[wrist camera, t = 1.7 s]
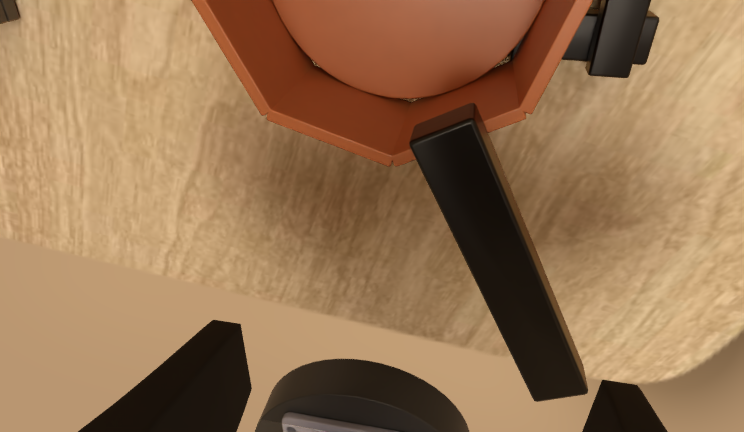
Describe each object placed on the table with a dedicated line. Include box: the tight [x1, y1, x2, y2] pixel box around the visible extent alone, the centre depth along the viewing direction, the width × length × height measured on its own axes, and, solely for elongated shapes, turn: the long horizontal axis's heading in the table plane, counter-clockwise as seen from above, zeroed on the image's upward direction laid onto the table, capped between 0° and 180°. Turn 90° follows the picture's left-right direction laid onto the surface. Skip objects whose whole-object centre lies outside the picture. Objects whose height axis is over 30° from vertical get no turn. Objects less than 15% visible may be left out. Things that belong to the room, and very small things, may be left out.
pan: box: [192, 0, 593, 402], centre depth 12 cm, size 15×8×4 cm, turn 27°
